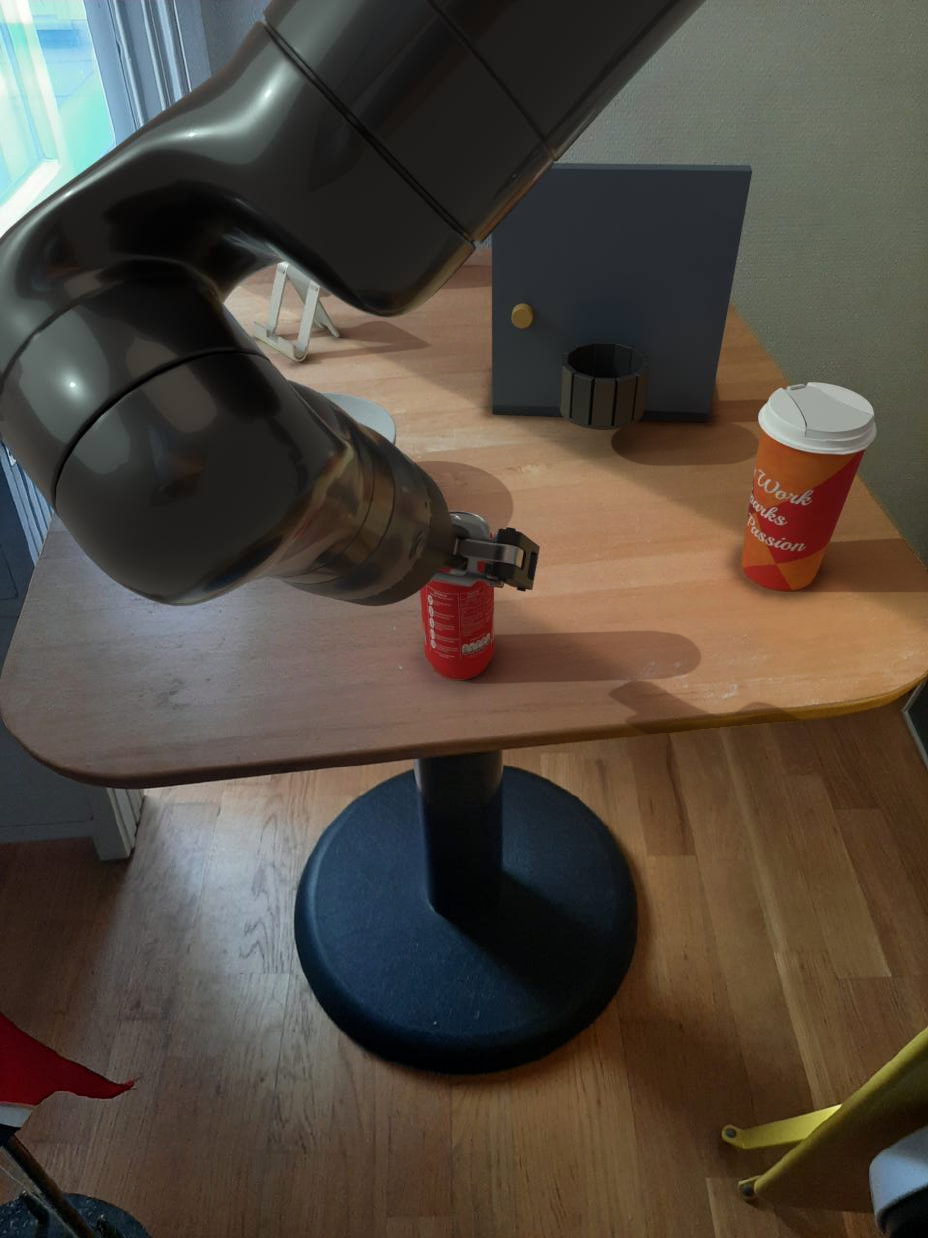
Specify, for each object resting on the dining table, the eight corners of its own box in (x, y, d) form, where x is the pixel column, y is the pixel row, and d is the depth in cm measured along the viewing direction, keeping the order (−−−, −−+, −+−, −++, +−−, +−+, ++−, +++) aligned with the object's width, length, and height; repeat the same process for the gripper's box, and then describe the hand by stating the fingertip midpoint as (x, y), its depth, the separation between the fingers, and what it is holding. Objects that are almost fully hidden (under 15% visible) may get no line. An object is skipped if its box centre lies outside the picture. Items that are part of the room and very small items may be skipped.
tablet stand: (254, 339, 110) (241, 269, 104) (309, 319, 113) (299, 251, 108) (294, 364, 105) (282, 292, 99) (350, 342, 108) (342, 272, 103)
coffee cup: (709, 548, 78) (740, 388, 68) (794, 529, 80) (837, 370, 70) (761, 611, 72) (804, 446, 62) (852, 589, 74) (908, 424, 64)
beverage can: (434, 690, 67) (426, 561, 59) (418, 643, 71) (408, 515, 62) (502, 675, 68) (503, 547, 60) (483, 629, 72) (481, 502, 63)
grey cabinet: (701, 377, 100) (740, 137, 84) (715, 472, 87) (765, 207, 71) (500, 370, 103) (500, 135, 86) (483, 461, 89) (480, 202, 73)
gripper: (517, 453, 40) (557, 516, 56) (218, 414, 43) (337, 484, 59) (487, 625, 40) (536, 638, 55) (189, 573, 43) (316, 600, 58)
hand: (433, 559), depth 57 cm, fingers open, 8 cm apart
